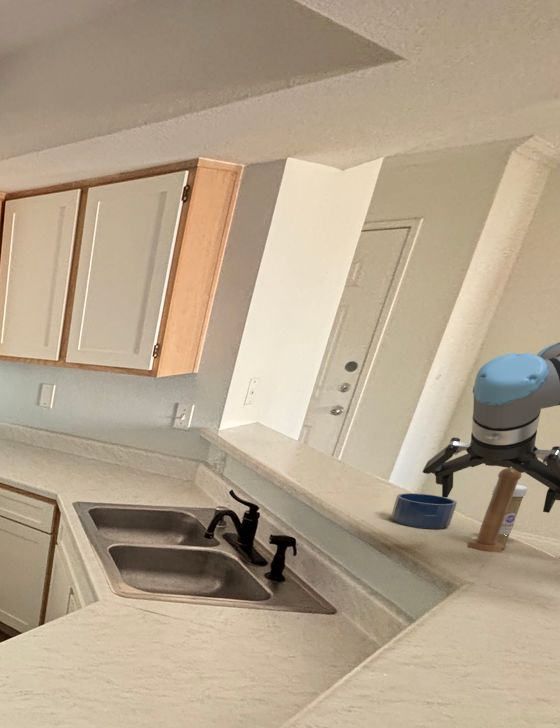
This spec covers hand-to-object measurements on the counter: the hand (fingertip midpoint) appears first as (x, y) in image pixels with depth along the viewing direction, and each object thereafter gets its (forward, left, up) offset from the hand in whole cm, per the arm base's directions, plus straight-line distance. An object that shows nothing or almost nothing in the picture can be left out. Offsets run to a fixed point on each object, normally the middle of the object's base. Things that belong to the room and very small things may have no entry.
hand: (495, 498), depth 113 cm
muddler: (-1, -5, -13) cm, 14 cm away
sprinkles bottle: (-2, -14, -13) cm, 19 cm away
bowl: (+10, -25, -13) cm, 30 cm away
